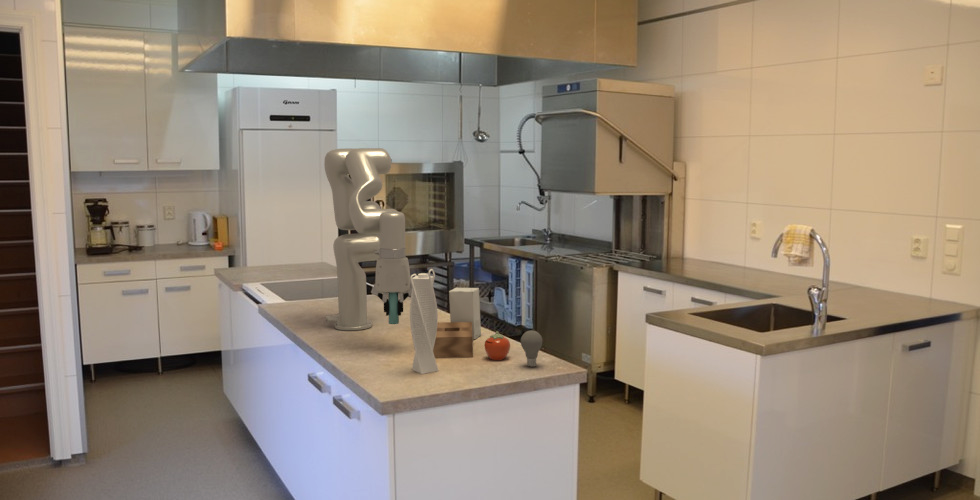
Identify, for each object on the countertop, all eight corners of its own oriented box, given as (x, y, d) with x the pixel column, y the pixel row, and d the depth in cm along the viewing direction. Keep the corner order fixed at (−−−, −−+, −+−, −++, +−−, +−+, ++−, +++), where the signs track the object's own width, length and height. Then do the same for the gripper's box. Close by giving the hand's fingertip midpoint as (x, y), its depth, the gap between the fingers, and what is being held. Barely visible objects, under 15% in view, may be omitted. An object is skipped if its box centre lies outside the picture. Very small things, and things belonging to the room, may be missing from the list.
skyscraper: (444, 371, 213) (442, 268, 209) (420, 376, 209) (418, 271, 205) (429, 365, 219) (427, 265, 216) (406, 369, 215) (403, 267, 211)
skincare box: (481, 335, 254) (480, 287, 252) (474, 340, 247) (473, 291, 246) (457, 334, 256) (456, 286, 254) (449, 338, 250) (448, 290, 248)
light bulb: (519, 363, 220) (519, 328, 218) (540, 363, 220) (540, 327, 219) (522, 369, 214) (521, 333, 212) (544, 368, 214) (544, 332, 213)
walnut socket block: (431, 358, 227) (430, 337, 226) (433, 341, 247) (433, 322, 246) (472, 357, 227) (472, 336, 226) (472, 340, 247) (471, 321, 246)
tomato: (479, 357, 227) (479, 330, 226) (502, 354, 230) (501, 327, 229) (492, 363, 220) (492, 335, 219) (515, 359, 224) (515, 332, 223)
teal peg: (388, 324, 234) (387, 291, 233) (389, 321, 237) (388, 289, 236) (398, 324, 235) (397, 291, 233) (399, 321, 238) (398, 289, 236)
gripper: (363, 255, 229) (364, 317, 232) (419, 255, 229) (420, 317, 232) (366, 251, 236) (367, 311, 239) (421, 251, 237) (421, 311, 240)
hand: (393, 314), depth 236 cm, fingers closed on teal peg, 3 cm apart
